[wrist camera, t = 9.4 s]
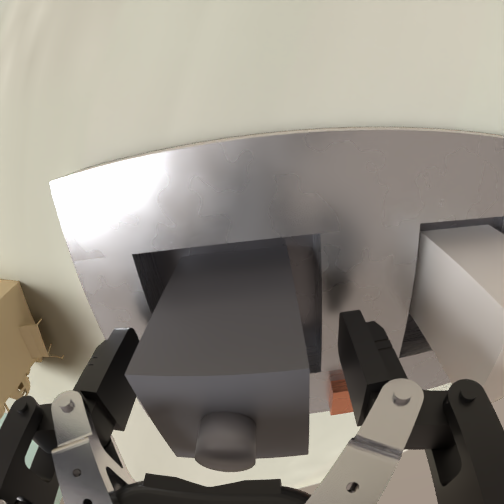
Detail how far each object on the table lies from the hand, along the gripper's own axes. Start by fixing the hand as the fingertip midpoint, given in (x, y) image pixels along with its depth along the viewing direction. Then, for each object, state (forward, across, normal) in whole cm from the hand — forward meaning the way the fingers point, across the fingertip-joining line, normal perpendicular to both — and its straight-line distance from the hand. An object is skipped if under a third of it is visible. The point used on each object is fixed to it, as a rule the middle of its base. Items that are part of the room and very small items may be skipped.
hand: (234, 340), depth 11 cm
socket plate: (+4, -6, 0) cm, 7 cm away
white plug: (+3, -11, 0) cm, 11 cm away
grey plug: (+3, 0, 0) cm, 3 cm away
